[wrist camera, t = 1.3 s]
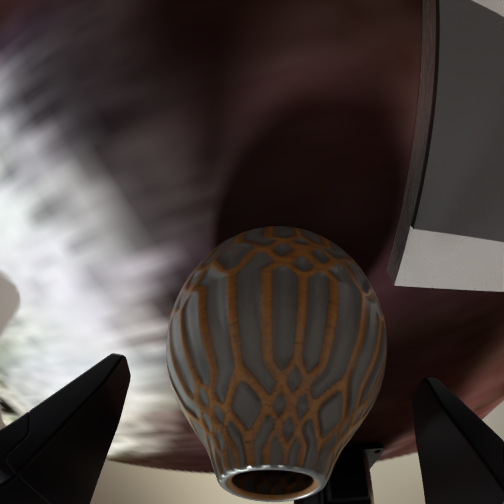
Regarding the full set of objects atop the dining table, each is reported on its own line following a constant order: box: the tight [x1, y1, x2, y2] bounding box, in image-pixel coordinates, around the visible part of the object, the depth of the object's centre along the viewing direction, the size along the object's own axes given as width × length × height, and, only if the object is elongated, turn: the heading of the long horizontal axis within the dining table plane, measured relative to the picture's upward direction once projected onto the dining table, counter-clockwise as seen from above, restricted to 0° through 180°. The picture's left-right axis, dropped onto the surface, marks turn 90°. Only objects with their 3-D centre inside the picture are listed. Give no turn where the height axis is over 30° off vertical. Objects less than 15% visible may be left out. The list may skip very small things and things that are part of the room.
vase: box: [166, 226, 387, 502], centre depth 10 cm, size 7×7×9 cm
